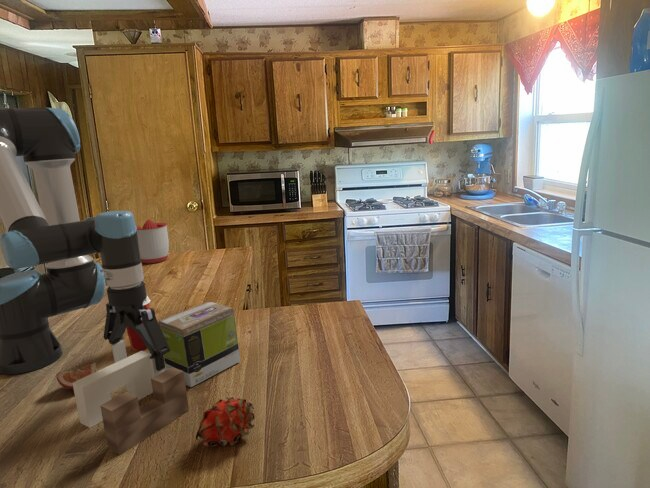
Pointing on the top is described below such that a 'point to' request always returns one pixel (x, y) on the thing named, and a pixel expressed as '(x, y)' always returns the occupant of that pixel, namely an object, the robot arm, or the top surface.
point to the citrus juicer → (153, 242)
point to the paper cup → (133, 336)
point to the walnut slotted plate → (144, 411)
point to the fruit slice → (75, 375)
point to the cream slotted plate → (112, 385)
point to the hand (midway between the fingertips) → (140, 376)
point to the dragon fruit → (226, 421)
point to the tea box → (201, 341)
